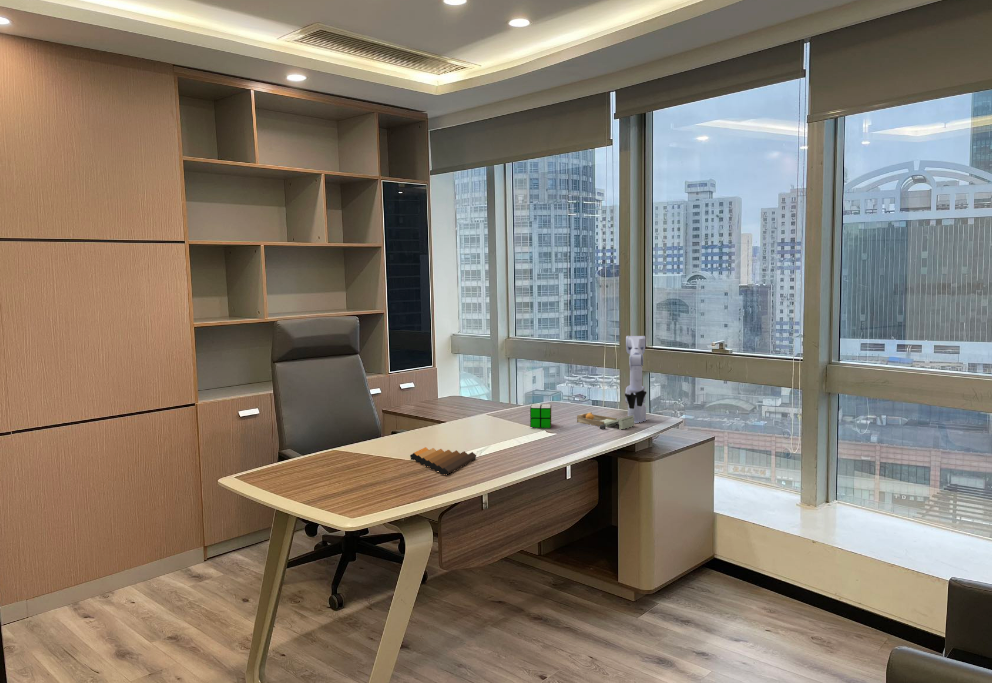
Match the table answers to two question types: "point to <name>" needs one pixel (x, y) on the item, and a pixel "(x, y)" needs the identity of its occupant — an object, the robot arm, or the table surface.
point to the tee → (602, 426)
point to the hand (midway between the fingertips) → (635, 407)
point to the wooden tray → (595, 421)
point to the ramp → (620, 422)
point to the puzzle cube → (540, 415)
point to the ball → (589, 416)
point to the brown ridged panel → (442, 459)
